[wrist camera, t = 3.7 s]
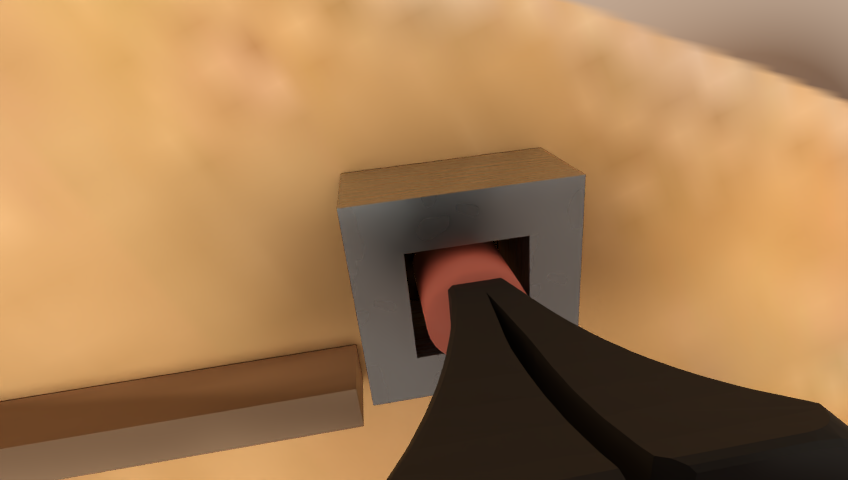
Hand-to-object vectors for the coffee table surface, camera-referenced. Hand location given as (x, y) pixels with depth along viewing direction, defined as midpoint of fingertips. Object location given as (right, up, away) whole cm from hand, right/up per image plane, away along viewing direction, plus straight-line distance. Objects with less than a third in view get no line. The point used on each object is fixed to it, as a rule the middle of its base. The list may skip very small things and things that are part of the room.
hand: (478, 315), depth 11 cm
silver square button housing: (0, +2, +3) cm, 4 cm away
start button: (0, +1, +3) cm, 3 cm away
